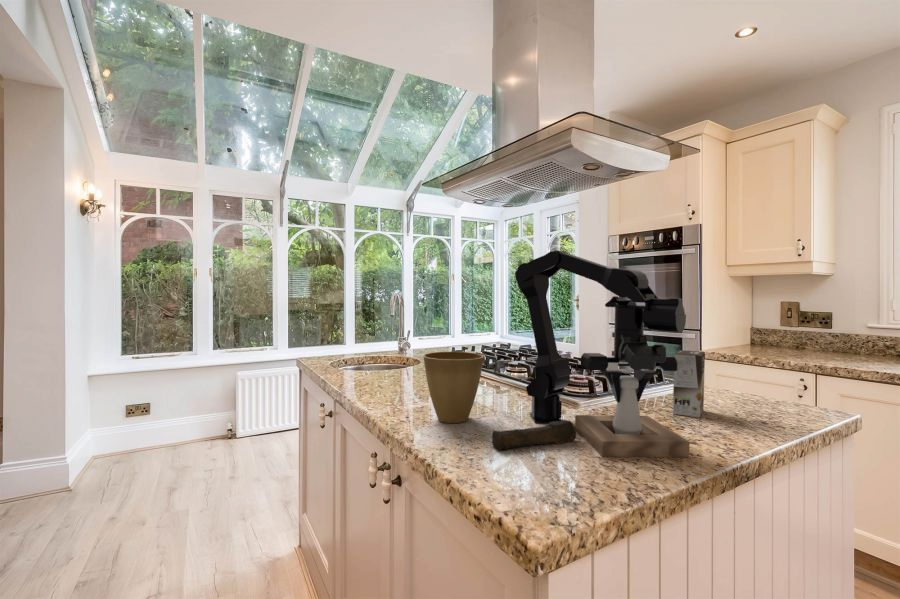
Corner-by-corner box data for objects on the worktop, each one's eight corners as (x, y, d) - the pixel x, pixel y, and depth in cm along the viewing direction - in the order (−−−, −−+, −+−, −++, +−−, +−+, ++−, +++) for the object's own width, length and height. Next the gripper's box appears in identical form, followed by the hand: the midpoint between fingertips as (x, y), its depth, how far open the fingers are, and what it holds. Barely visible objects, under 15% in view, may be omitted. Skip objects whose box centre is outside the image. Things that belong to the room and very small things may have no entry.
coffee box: (700, 418, 107) (701, 355, 107) (672, 414, 111) (673, 353, 110) (704, 410, 114) (705, 351, 114) (677, 406, 118) (678, 349, 118)
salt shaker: (636, 432, 93) (637, 374, 92) (645, 442, 87) (647, 379, 87) (608, 431, 93) (610, 373, 93) (616, 440, 88) (617, 378, 87)
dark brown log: (497, 454, 83) (498, 431, 83) (490, 446, 87) (491, 424, 87) (582, 446, 88) (583, 424, 88) (572, 439, 92) (572, 418, 92)
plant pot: (493, 424, 101) (494, 357, 100) (434, 431, 95) (435, 361, 95) (468, 408, 115) (468, 349, 114) (415, 413, 109) (415, 352, 109)
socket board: (602, 456, 82) (602, 441, 82) (575, 427, 99) (575, 415, 99) (689, 457, 82) (689, 441, 82) (647, 428, 99) (647, 415, 99)
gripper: (598, 332, 82) (597, 412, 82) (694, 333, 82) (692, 413, 82) (580, 327, 93) (579, 397, 93) (664, 328, 93) (663, 398, 93)
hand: (627, 401), depth 90 cm, fingers closed on salt shaker, 4 cm apart
